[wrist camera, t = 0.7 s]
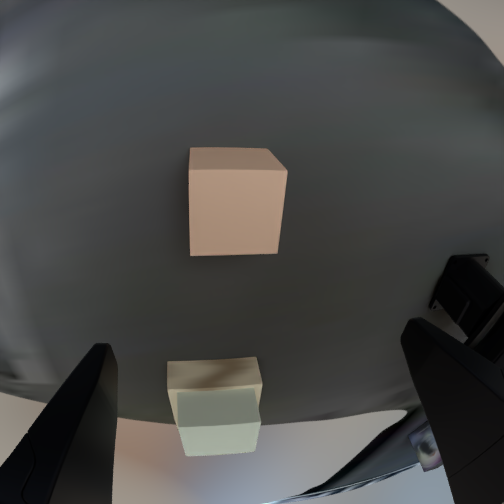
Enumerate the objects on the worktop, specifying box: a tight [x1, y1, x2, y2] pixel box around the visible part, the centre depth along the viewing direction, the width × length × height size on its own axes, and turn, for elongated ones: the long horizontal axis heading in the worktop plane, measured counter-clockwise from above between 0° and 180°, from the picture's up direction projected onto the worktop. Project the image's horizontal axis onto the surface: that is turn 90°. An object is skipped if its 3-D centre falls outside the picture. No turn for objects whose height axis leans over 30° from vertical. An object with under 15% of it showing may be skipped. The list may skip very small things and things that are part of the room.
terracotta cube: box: [189, 147, 288, 256], centre depth 17 cm, size 4×4×4 cm
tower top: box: [177, 388, 261, 456], centre depth 25 cm, size 6×6×4 cm
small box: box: [408, 421, 443, 472], centre depth 48 cm, size 11×6×10 cm, turn 151°
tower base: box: [167, 357, 263, 430], centre depth 28 cm, size 8×8×4 cm
